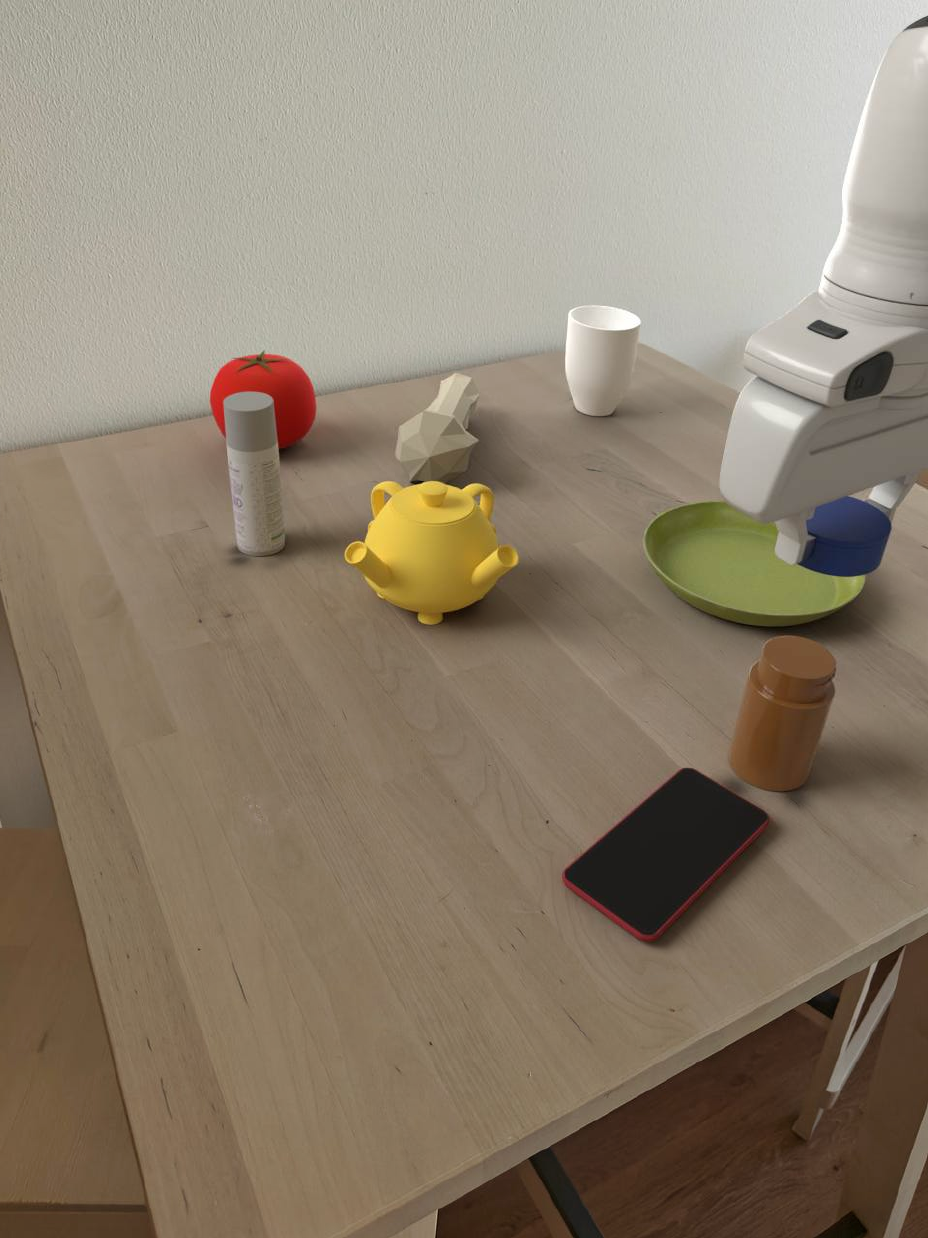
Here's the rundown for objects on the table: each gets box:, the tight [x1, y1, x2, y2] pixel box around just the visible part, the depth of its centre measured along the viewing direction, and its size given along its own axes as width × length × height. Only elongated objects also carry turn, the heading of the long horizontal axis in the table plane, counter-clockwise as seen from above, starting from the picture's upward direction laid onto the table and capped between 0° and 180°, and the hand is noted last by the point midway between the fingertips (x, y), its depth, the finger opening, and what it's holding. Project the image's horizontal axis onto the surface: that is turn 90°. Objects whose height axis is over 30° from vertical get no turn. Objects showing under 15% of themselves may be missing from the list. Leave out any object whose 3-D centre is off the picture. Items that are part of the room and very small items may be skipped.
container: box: [223, 392, 286, 557], centre depth 95 cm, size 5×5×15 cm
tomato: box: [209, 349, 317, 450], centre depth 115 cm, size 12×12×10 cm
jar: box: [727, 635, 837, 792], centre depth 73 cm, size 6×6×10 cm
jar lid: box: [797, 495, 892, 577], centre depth 65 cm, size 6×6×2 cm
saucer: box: [642, 500, 866, 627], centre depth 97 cm, size 21×21×3 cm
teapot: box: [344, 480, 520, 626], centre depth 90 cm, size 14×14×11 cm
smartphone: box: [561, 767, 770, 943], centre depth 68 cm, size 7×1×15 cm
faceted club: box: [394, 372, 481, 485], centre depth 117 cm, size 9×8×25 cm
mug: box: [564, 305, 641, 417], centre depth 128 cm, size 12×9×12 cm
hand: (832, 543), depth 65 cm, fingers closed on jar lid, 6 cm apart
